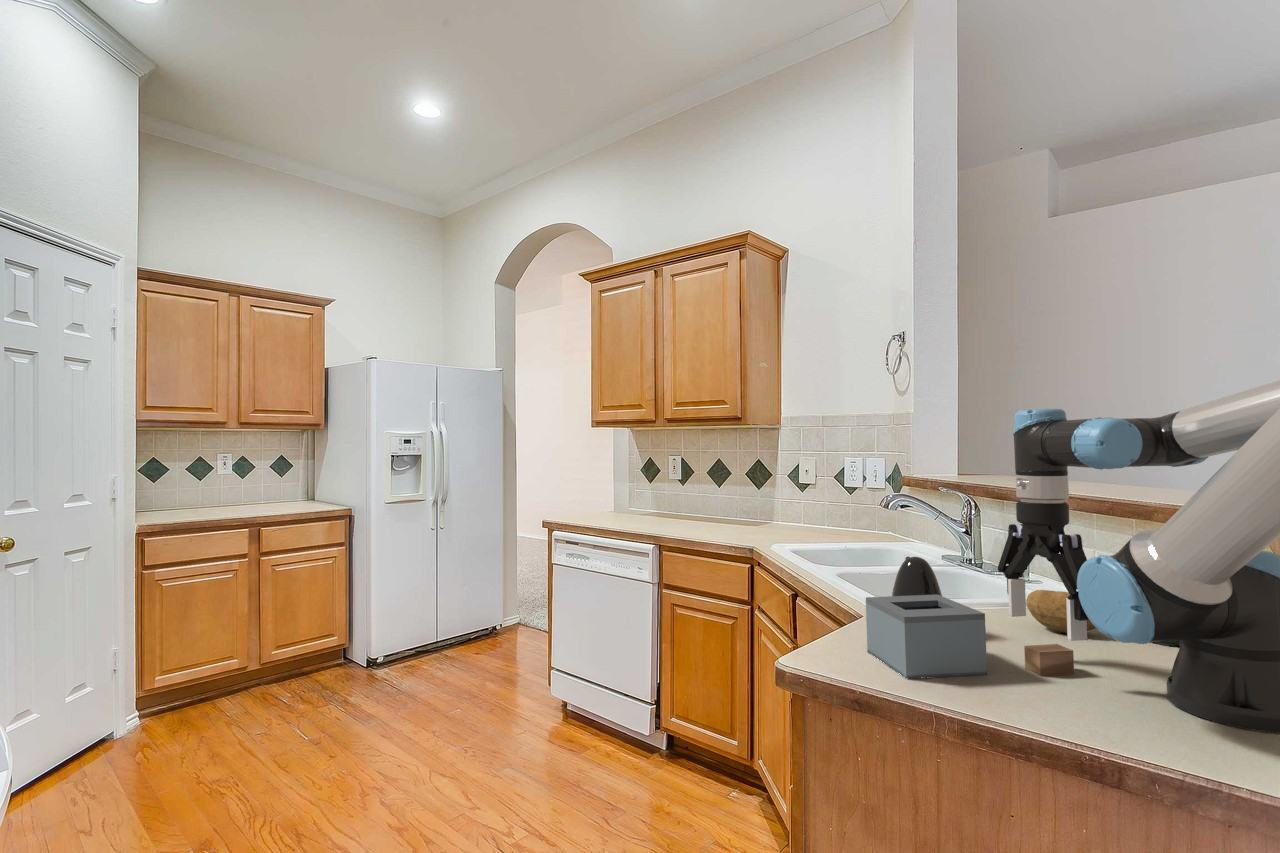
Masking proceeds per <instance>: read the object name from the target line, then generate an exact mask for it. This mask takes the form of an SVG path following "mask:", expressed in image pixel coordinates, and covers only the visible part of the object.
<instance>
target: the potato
mask: <svg viewBox="0 0 1280 853" xmlns="http://www.w3.org/2000/svg"><path fill="white" fill-rule="evenodd" d="M1069 595H1070V594H1069V592H1068V591H1061V590H1060V591H1059V590H1058V591H1057V590H1048V589H1036V590H1033V591H1031V592H1030V593H1029V594H1028V595H1027V596H1026V609H1028V612H1030V614H1031V615H1032V617H1033V618H1034V619H1035V620H1036V621H1037V622H1038V623H1039V624H1041V625H1042V626H1043V627H1046V628H1048V629H1050V630H1054V631H1056V632H1059V633H1066V634H1067V604H1066V598H1067V597H1068V596H1069ZM1096 629H1097V628H1096V627H1095V626H1094V625H1093V624H1092V622H1091V621H1090V620H1089V618H1088V620H1087V632H1090V631H1093V630H1096Z"/></svg>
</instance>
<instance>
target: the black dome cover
mask: <svg viewBox="0 0 1280 853" xmlns="http://www.w3.org/2000/svg"><path fill="white" fill-rule="evenodd" d="M936 594H937V595H940V596H942V597H943V594H942V591H941V587H940V584H939V581H938V579H937V577H936V573H935V571H934V569H933V567H932V566H931V564H930V563H929V562H928V561H927V560H925V559H924V558H923V557H921V556H911V557H910V556H906V557H905V558H904V561H903V562H902V564H901V565H900V567H899V569H898V571H897V573H896V577H895V580H894V584H893V588H892V594H891V596H912V595H936Z"/></svg>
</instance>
